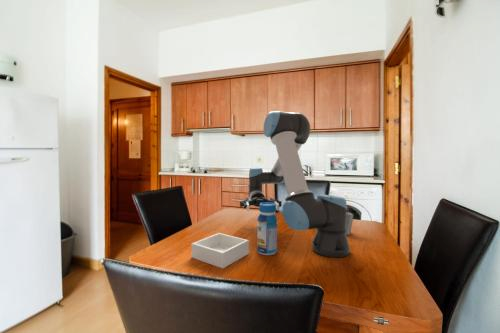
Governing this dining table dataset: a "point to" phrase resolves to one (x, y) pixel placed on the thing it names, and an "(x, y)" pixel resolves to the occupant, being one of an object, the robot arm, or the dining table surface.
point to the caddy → (220, 249)
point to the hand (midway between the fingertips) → (263, 207)
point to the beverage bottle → (267, 229)
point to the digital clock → (348, 223)
